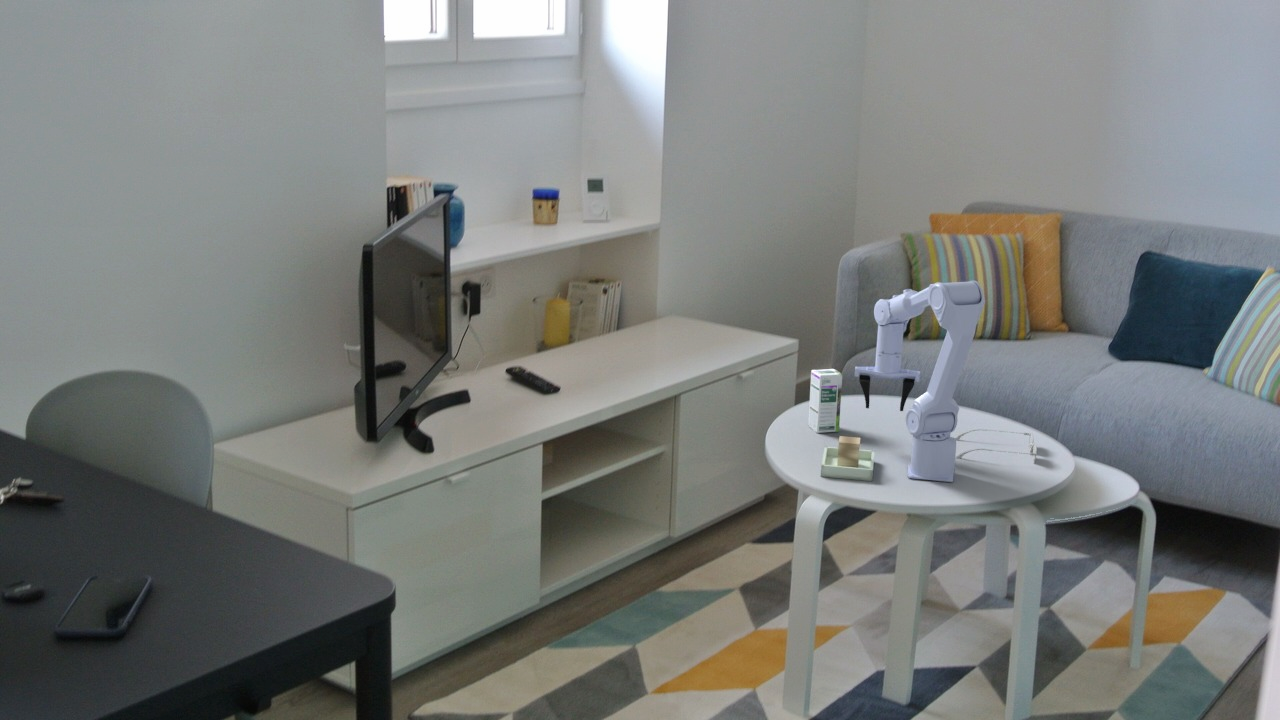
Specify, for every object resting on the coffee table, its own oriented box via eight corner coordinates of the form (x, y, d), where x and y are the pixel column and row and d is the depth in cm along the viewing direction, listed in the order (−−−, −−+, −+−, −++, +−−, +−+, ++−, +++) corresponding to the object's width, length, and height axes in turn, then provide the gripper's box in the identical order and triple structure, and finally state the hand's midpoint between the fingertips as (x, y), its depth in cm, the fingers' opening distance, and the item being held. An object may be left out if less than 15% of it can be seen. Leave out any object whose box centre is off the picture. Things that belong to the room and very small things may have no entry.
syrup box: (817, 433, 301) (820, 375, 297) (807, 426, 307) (811, 368, 303) (839, 432, 303) (843, 374, 299) (829, 424, 308) (833, 367, 304)
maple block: (858, 463, 279) (860, 437, 278) (857, 470, 275) (859, 444, 274) (837, 461, 280) (839, 435, 279) (836, 468, 276) (838, 442, 274)
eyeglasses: (1036, 468, 283) (1038, 451, 282) (953, 461, 286) (954, 444, 285) (1029, 447, 297) (1031, 430, 296) (951, 440, 301) (952, 424, 300)
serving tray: (873, 461, 283) (874, 450, 282) (872, 481, 270) (873, 470, 270) (824, 457, 285) (824, 446, 284) (820, 476, 273) (821, 465, 272)
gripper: (921, 349, 289) (916, 406, 292) (857, 344, 292) (853, 401, 295) (921, 356, 282) (916, 415, 286) (856, 352, 285) (851, 409, 289)
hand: (884, 408), depth 290 cm, fingers open, 7 cm apart
